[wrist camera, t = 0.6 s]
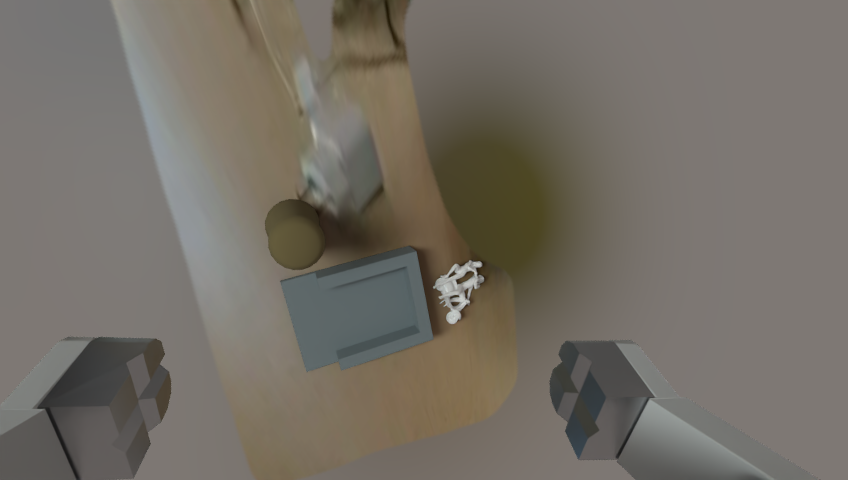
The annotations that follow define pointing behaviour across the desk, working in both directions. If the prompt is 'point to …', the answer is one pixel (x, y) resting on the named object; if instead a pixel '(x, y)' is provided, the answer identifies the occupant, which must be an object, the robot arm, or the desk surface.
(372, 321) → the tray
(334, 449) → the desk surface
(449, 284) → the figurine
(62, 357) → the robot arm
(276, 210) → the cork
